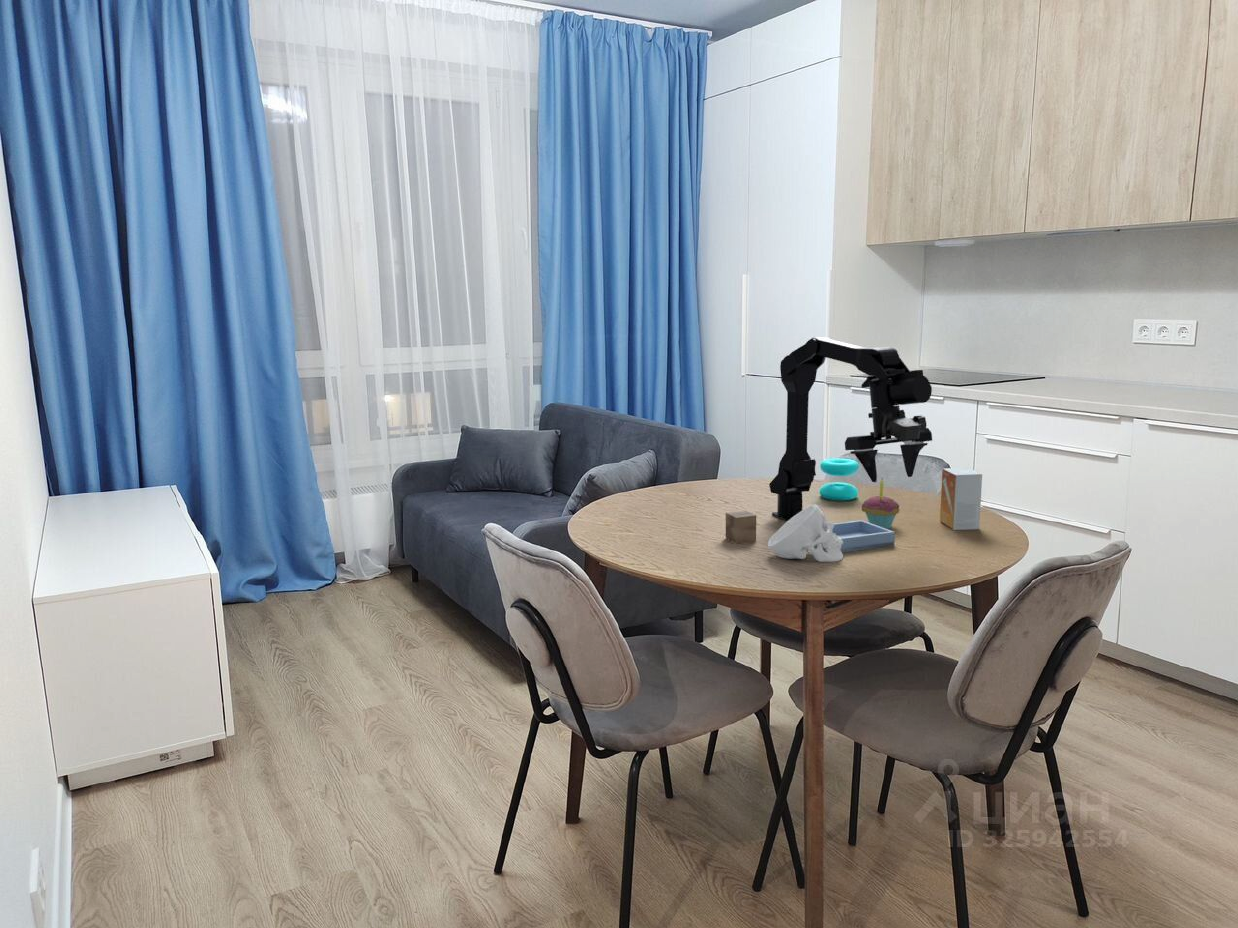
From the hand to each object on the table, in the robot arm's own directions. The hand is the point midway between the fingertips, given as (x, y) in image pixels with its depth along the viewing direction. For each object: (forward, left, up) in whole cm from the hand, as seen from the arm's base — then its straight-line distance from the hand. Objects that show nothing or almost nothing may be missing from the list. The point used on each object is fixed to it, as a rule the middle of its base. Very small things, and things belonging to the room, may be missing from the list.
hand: (892, 479), depth 194 cm
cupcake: (-14, +8, -15) cm, 22 cm away
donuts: (-44, +17, -15) cm, 49 cm away
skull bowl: (0, -22, -15) cm, 26 cm away
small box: (-7, +25, -15) cm, 30 cm away
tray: (-5, -6, -14) cm, 17 cm away
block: (-17, -27, -15) cm, 35 cm away
